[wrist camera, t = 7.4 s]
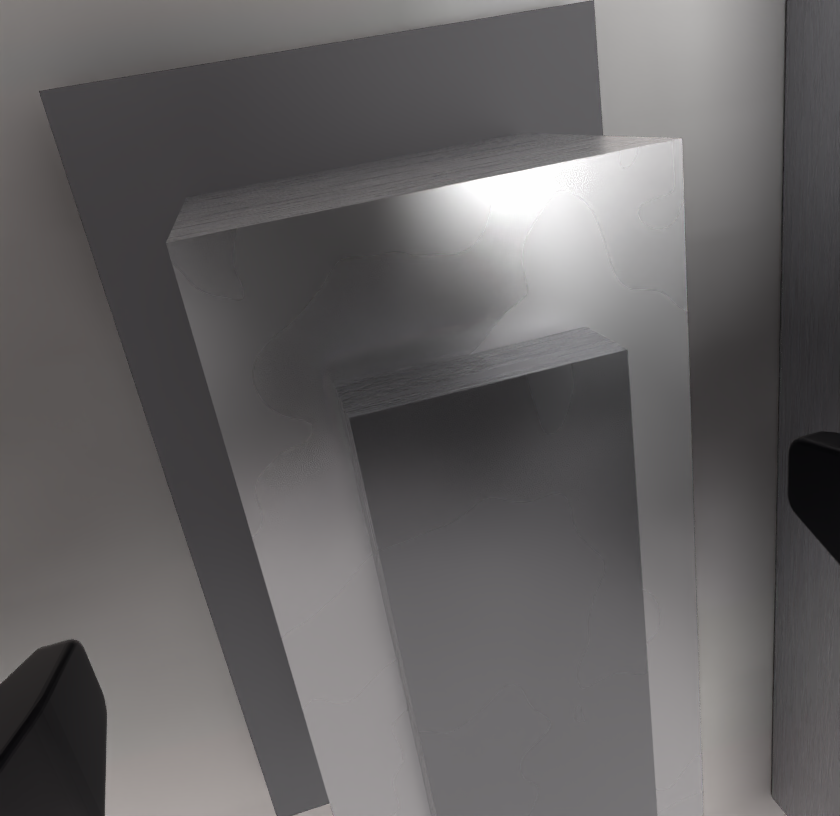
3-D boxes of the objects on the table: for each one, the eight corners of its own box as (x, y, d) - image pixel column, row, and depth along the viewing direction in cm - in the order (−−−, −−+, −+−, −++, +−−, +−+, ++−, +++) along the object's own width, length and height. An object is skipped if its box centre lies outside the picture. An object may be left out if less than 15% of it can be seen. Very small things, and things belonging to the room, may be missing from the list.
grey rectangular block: (576, 655, 14) (741, 901, 9) (333, 732, 13) (391, 1036, 9) (520, 133, 10) (737, 139, 6) (186, 198, 10) (158, 258, 5)
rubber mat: (620, 673, 15) (640, 701, 15) (275, 784, 14) (278, 819, 13) (568, 8, 11) (593, -1, 10) (52, 93, 10) (39, 91, 9)
